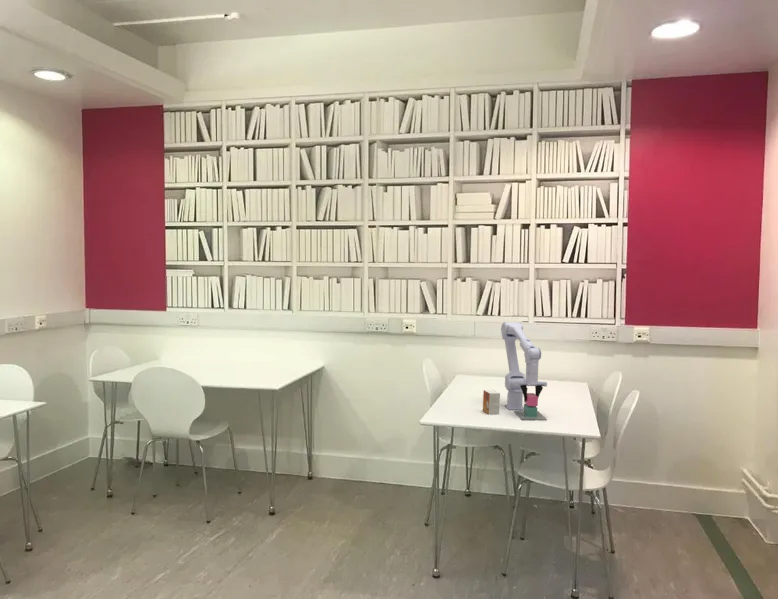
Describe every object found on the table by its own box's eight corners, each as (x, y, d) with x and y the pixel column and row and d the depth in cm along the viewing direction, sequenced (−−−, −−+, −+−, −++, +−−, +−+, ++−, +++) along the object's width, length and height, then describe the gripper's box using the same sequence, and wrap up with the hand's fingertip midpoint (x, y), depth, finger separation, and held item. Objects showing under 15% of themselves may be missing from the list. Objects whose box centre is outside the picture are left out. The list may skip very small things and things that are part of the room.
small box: (482, 410, 311) (483, 389, 310) (493, 410, 312) (493, 389, 311) (488, 414, 303) (489, 393, 302) (499, 414, 304) (500, 392, 304)
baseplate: (514, 412, 310) (514, 410, 310) (538, 412, 310) (538, 411, 310) (521, 420, 294) (521, 418, 294) (547, 420, 294) (547, 419, 294)
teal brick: (523, 412, 306) (524, 403, 305) (533, 413, 306) (533, 404, 305) (527, 416, 298) (527, 407, 297) (537, 417, 298) (537, 407, 297)
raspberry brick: (524, 402, 305) (524, 392, 305) (533, 402, 305) (533, 393, 305) (527, 405, 297) (528, 396, 297) (537, 406, 297) (537, 396, 297)
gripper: (518, 374, 296) (517, 402, 297) (549, 374, 297) (548, 403, 297) (515, 371, 303) (514, 399, 304) (545, 372, 304) (544, 399, 304)
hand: (530, 400), depth 301 cm, fingers open, 5 cm apart
